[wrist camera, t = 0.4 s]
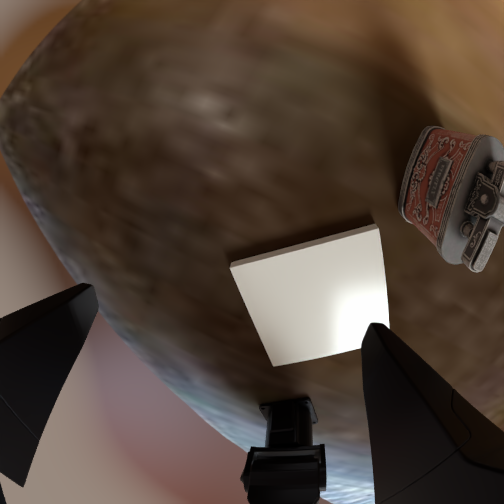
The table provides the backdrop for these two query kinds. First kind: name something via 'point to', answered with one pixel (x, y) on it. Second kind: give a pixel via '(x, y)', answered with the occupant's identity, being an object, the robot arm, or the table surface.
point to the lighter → (456, 194)
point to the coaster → (315, 294)
